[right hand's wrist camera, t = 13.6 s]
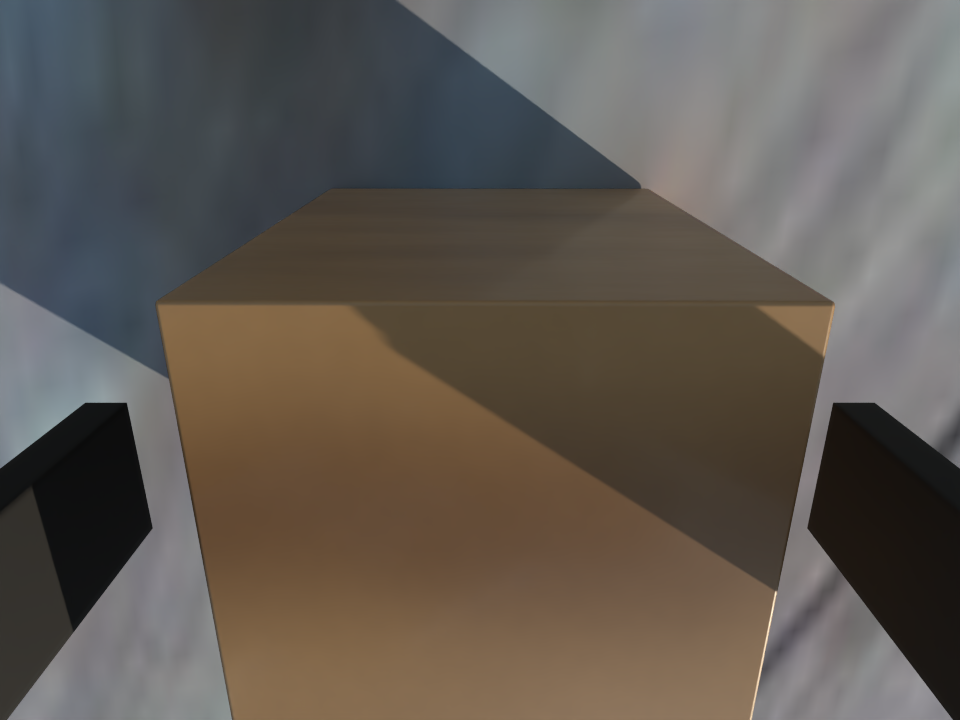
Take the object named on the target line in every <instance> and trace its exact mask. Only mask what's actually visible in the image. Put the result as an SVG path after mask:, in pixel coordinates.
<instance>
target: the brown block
mask: <svg viewBox="0 0 960 720" xmlns="http://www.w3.org/2000/svg"><path fill="white" fill-rule="evenodd" d="M834 309H835V304H834V302H833V301H831V300H829V299H828V298H826V297H825V296H823V295H821V294H820V293H818V292H816V291H815V290H813V289H811V288H810V287H808V286H807V285H805V284H803V283H802V282H800V281H798V280H797V279H795V278H793V277H792V276H790V275H788V274H787V273H785V272H784V271H782V270H780V269H779V268H777V267H775V266H774V265H772V264H770V263H769V262H767V261H765V260H764V259H762V258H761V257H759V256H757V255H756V254H754V253H752V252H751V251H749V250H747V249H746V248H744V247H743V246H741V245H739V244H738V243H736V242H734V241H733V240H731V239H729V238H728V237H726V236H724V235H723V234H721V233H720V232H718V231H716V230H715V229H713V228H711V227H710V226H708V225H706V224H705V223H703V222H701V221H700V220H698V219H697V218H695V217H693V216H692V215H690V214H688V213H687V212H685V211H683V210H682V209H680V208H679V207H677V206H675V205H674V204H672V203H670V202H669V201H667V200H665V199H664V198H662V197H660V196H659V195H657V194H656V193H654V192H652V191H651V190H649V189H330V190H328V191H327V192H325V193H323V194H322V195H320V196H319V197H317V198H316V199H314V200H313V201H311V202H309V203H308V204H306V205H305V206H303V207H302V208H300V209H299V210H297V211H295V212H294V213H292V214H291V215H289V216H288V217H286V218H285V219H283V220H281V221H280V222H278V223H277V224H275V225H274V226H272V227H271V228H269V229H267V230H266V231H264V232H263V233H261V234H260V235H258V236H257V237H255V238H254V239H252V240H250V241H249V242H247V243H246V244H244V245H243V246H241V247H240V248H238V249H236V250H235V251H233V252H232V253H230V254H229V255H227V256H226V257H224V258H222V259H221V260H219V261H218V262H216V263H215V264H213V265H212V266H210V267H208V268H207V269H205V270H204V271H202V272H201V273H199V274H198V275H196V276H194V277H193V278H191V279H190V280H188V281H187V282H185V283H184V284H182V285H180V286H179V287H177V288H176V289H174V290H173V291H171V292H170V293H168V294H166V295H165V296H163V297H162V298H160V299H159V300H157V301H156V311H157V317H158V322H159V327H160V333H161V338H162V344H163V349H164V354H165V360H166V365H167V371H168V376H169V381H170V387H171V392H172V397H173V403H174V408H175V414H176V419H177V424H178V430H179V435H180V441H181V446H182V451H183V457H184V462H185V468H186V473H187V478H188V484H189V489H190V495H191V500H192V505H193V511H194V516H195V522H196V527H197V532H198V538H199V543H200V549H201V554H202V559H203V565H204V570H205V576H206V581H207V586H208V592H209V597H210V603H211V608H212V613H213V619H214V624H215V630H216V635H217V640H218V646H219V651H220V657H221V662H222V667H223V673H224V678H225V684H226V689H227V694H228V700H229V705H230V710H231V716H232V720H751V719H752V714H753V709H754V704H755V699H756V694H757V689H758V684H759V679H760V674H761V669H762V665H763V660H764V655H765V650H766V645H767V640H768V635H769V630H770V625H771V620H772V615H773V610H774V605H775V600H776V595H777V590H778V585H779V581H780V576H781V571H782V566H783V561H784V556H785V551H786V546H787V541H788V536H789V531H790V526H791V521H792V516H793V511H794V506H795V501H796V497H797V492H798V487H799V482H800V477H801V472H802V467H803V462H804V457H805V452H806V447H807V442H808V437H809V432H810V427H811V422H812V417H813V413H814V408H815V403H816V398H817V393H818V388H819V383H820V378H821V373H822V368H823V363H824V358H825V353H826V348H827V343H828V338H829V333H830V329H831V324H832V319H833V314H834Z"/></svg>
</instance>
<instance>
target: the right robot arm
mask: <svg viewBox="0 0 960 720" xmlns="http://www.w3.org/2000/svg"><path fill="white" fill-rule="evenodd" d="M151 530H152V523H151V518H150V513H149V508H148V503H147V499H146V494H145V489H144V484H143V479H142V474H141V470H140V465H139V460H138V455H137V450H136V445H135V441H134V436H133V431H132V426H131V421H130V416H129V412H128V407H127V403H85V404H83V405H82V406H81V407H79V408H78V409H77V410H76V411H74V412H73V413H72V414H70V415H69V416H68V417H66V418H65V419H64V420H63V421H61V422H60V423H59V424H57V425H56V426H55V427H54V428H52V429H51V430H50V431H48V432H47V433H46V434H45V435H43V436H42V437H41V438H39V439H38V440H37V441H35V442H34V443H33V444H32V445H30V446H29V447H28V448H26V449H25V450H24V451H23V452H21V453H20V454H19V455H17V456H16V457H15V458H13V459H12V460H11V461H10V462H8V463H7V464H6V465H4V466H3V467H2V468H1V469H0V720H7V719H8V718H9V716H10V715H11V714H12V712H13V711H14V710H15V708H16V707H17V706H18V704H19V703H20V702H21V701H22V699H23V698H24V697H25V695H26V694H27V693H28V691H29V690H30V689H31V687H32V686H33V685H34V683H35V682H36V681H37V680H38V678H39V677H40V676H41V674H42V673H43V672H44V670H45V669H46V668H47V666H48V665H49V664H50V662H51V661H52V660H53V658H54V657H55V656H56V655H57V653H58V652H59V651H60V649H61V648H62V647H63V645H64V644H65V643H66V641H67V640H68V639H69V637H70V636H71V635H72V633H73V632H74V631H75V630H76V628H77V627H78V626H79V624H80V623H81V622H82V620H83V619H84V618H85V616H86V615H87V614H88V612H89V611H90V610H91V609H92V607H93V606H94V605H95V603H96V602H97V601H98V599H99V598H100V597H101V595H102V594H103V593H104V591H105V590H106V589H107V587H108V586H109V585H110V584H111V582H112V581H113V580H114V578H115V577H116V576H117V574H118V573H119V572H120V570H121V569H122V568H123V566H124V565H125V564H126V562H127V561H128V560H129V559H130V557H131V556H132V555H133V553H134V552H135V551H136V549H137V548H138V547H139V545H140V544H141V543H142V541H143V540H144V539H145V538H146V536H147V535H148V534H149V532H150V531H151ZM808 530H809V531H810V532H811V534H812V535H813V536H814V538H815V539H816V540H817V541H818V543H819V544H820V545H821V547H822V548H823V549H824V551H825V552H826V553H827V555H828V556H829V557H830V559H831V560H832V561H833V562H834V564H835V565H836V566H837V568H838V569H839V570H840V572H841V573H842V574H843V576H844V577H845V578H846V580H847V581H848V582H849V584H850V585H851V586H852V587H853V589H854V590H855V591H856V593H857V594H858V595H859V597H860V598H861V599H862V601H863V602H864V603H865V605H866V606H867V607H868V609H869V610H870V611H871V612H872V614H873V615H874V616H875V618H876V619H877V620H878V622H879V623H880V624H881V626H882V627H883V628H884V630H885V631H886V632H887V633H888V635H889V636H890V637H891V639H892V640H893V641H894V643H895V644H896V645H897V647H898V648H899V649H900V651H901V652H902V653H903V655H904V656H905V657H906V658H907V660H908V661H909V662H910V664H911V665H912V666H913V668H914V669H915V670H916V672H917V673H918V674H919V676H920V677H921V678H922V680H923V681H924V682H925V683H926V685H927V686H928V687H929V689H930V690H931V691H932V693H933V694H934V695H935V697H936V698H937V699H938V701H939V702H940V703H941V704H942V706H943V707H944V708H945V710H946V711H947V712H948V714H949V715H950V716H951V718H952V719H953V720H960V469H959V468H958V467H957V466H956V465H954V464H953V463H952V462H950V461H949V460H948V459H947V458H945V457H944V456H943V455H941V454H940V453H939V452H937V451H936V450H935V449H934V448H932V447H931V446H930V445H928V444H927V443H926V442H925V441H923V440H922V439H921V438H919V437H918V436H917V435H915V434H914V433H913V432H912V431H910V430H909V429H908V428H906V427H905V426H904V425H903V424H901V423H900V422H899V421H897V420H896V419H895V418H894V417H892V416H891V415H890V414H888V413H887V412H886V411H884V410H883V409H882V408H881V407H879V406H878V405H877V404H875V403H833V407H832V412H831V416H830V421H829V426H828V431H827V436H826V441H825V445H824V450H823V455H822V460H821V465H820V470H819V474H818V479H817V484H816V489H815V494H814V499H813V503H812V508H811V513H810V518H809V523H808Z"/></svg>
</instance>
